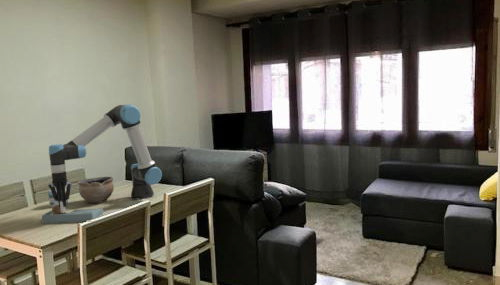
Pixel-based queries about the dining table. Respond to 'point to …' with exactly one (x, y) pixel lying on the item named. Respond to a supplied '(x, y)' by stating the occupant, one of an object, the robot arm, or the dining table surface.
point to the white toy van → (51, 199)
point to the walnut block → (57, 210)
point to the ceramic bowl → (96, 189)
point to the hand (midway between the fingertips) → (63, 212)
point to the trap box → (72, 216)
